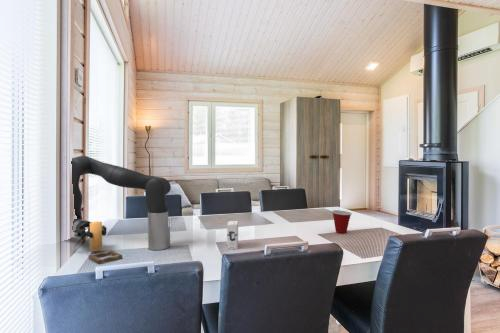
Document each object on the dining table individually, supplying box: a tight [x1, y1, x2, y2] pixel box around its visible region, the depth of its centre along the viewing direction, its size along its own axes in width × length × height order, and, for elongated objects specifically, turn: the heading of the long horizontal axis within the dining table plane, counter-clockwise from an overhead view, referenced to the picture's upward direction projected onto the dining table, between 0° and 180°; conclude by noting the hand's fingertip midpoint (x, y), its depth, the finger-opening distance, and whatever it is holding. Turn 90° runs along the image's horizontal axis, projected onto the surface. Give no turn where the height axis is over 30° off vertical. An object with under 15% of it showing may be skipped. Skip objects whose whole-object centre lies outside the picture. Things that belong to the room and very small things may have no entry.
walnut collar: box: [87, 250, 123, 265], centre depth 136 cm, size 10×10×2 cm
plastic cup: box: [331, 209, 353, 235], centre depth 181 cm, size 11×11×12 cm
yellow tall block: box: [89, 221, 103, 252], centre depth 144 cm, size 5×5×12 cm
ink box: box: [226, 220, 239, 250], centre depth 154 cm, size 8×5×12 cm, turn 0°
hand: (98, 234), depth 143 cm, fingers closed on yellow tall block, 5 cm apart
